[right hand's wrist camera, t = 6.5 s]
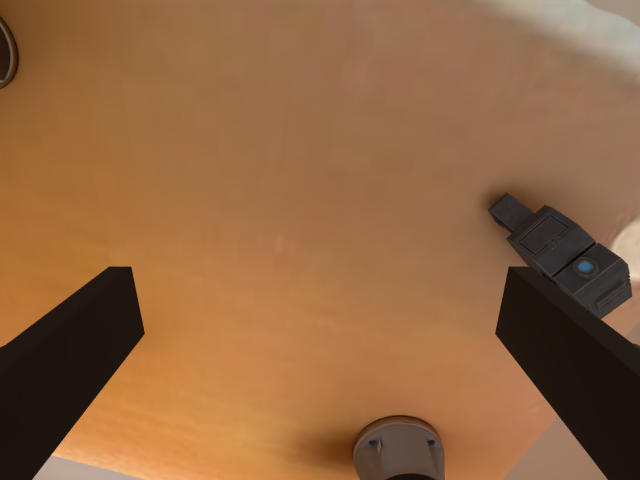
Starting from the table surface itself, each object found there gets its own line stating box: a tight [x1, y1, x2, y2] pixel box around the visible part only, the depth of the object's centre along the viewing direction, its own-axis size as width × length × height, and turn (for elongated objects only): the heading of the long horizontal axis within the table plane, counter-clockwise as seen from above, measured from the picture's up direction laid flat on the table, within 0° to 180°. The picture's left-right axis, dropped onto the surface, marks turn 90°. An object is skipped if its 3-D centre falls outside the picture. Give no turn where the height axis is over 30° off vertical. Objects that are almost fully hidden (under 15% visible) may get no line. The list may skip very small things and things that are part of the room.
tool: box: [488, 193, 632, 319], centre depth 44 cm, size 6×19×15 cm, turn 48°
